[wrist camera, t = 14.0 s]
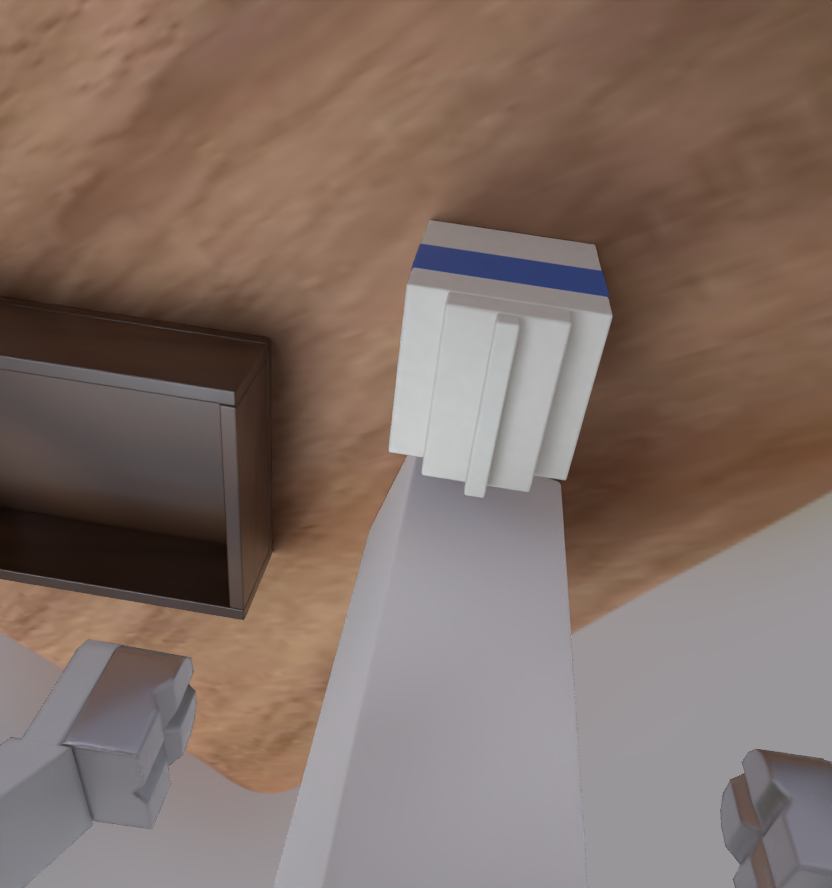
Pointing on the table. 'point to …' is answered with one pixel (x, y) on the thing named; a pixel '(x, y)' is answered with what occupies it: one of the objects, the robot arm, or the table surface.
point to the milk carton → (497, 355)
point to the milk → (448, 703)
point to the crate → (134, 457)
